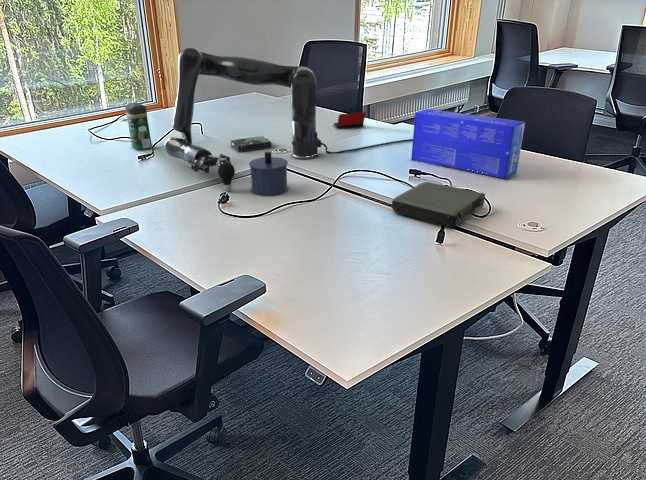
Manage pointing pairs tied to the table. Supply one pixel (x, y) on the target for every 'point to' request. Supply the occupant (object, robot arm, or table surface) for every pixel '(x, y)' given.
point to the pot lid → (268, 162)
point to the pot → (269, 181)
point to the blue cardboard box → (467, 142)
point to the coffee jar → (138, 126)
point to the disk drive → (250, 144)
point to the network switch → (438, 204)
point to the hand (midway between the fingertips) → (219, 167)
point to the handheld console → (350, 120)
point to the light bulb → (226, 174)
